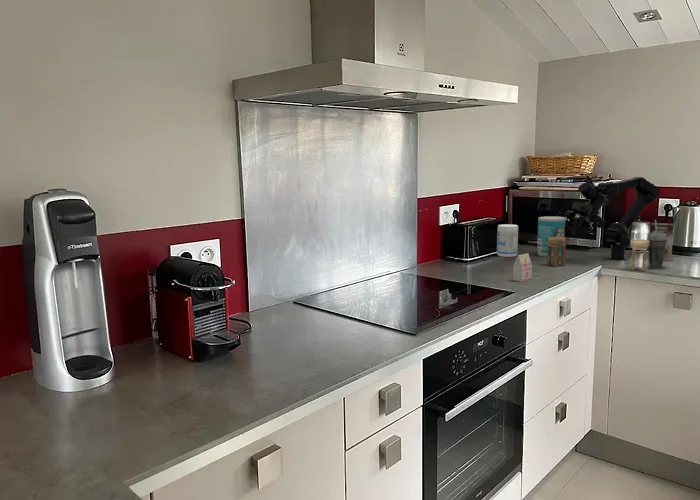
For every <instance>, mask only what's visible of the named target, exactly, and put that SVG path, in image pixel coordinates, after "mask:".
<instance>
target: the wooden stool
mask: <svg viewBox="0 0 700 500" xmlns="http://www.w3.org/2000/svg"><path fill="white" fill-rule="evenodd" d="M566 245H567V244H566V237H565V236H564V237H548V248H547V257H546V265H547V266H552V267H555V268H556V267H558V265H559V262H560V266H561V267H565V266H566V247H567V246H566ZM552 247H554V253H553V257H551V251H552ZM559 247H561V257H559ZM552 258H553V259H552ZM552 260H553V263H552Z"/></svg>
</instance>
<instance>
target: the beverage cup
mask: <svg viewBox="0 0 700 500" xmlns="http://www.w3.org/2000/svg"><path fill="white" fill-rule="evenodd" d="M654 223H655V231H653V232H651V233H650V232H649V234H648V237H647V239H646V240H649V241H650V245H649V246H648V253H649V260H648V264H649V268H650V269H656V270H658V269H662V267H663V263H664V261H663V258H664V251H665V246H666V243H667V237H666V235H665V233H664V232H662V231H659V230H657V225H656V223H657V219H654Z"/></svg>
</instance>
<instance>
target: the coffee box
mask: <svg viewBox="0 0 700 500" xmlns="http://www.w3.org/2000/svg"><path fill="white" fill-rule="evenodd" d="M656 225H657V230H659V231H662V232H664V233H665V235H666V237H667V243H666V246H665V251H664V258H663V262H671V261H672V255H673V254H672V253H673V240H674V231H675V230H674V229H675V223H669V222H668V223H665V222H663V223H662V222H656ZM649 227H650V231H649V234H650V233H651V232H653V231H655V222H651V223H650V226H649ZM647 254H648V255H647V260H648V261H649V252H647Z"/></svg>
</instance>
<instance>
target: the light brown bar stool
mask: <svg viewBox="0 0 700 500" xmlns="http://www.w3.org/2000/svg"><path fill="white" fill-rule="evenodd" d="M629 240H630V246H631V247H632V250H631V251H632V252H631V266H630V267H631V269H630V270H631V271H635V269H636V255H637V251H642V261H641V262H642V263H641V265H642V266H641V270H642V271H644V272H646V270H647V259H648V255H647V254H648V247H649V245H650V241H649V240H647V239H644V238H641V239H640V238H639V239H638V238H632V239H629Z"/></svg>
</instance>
